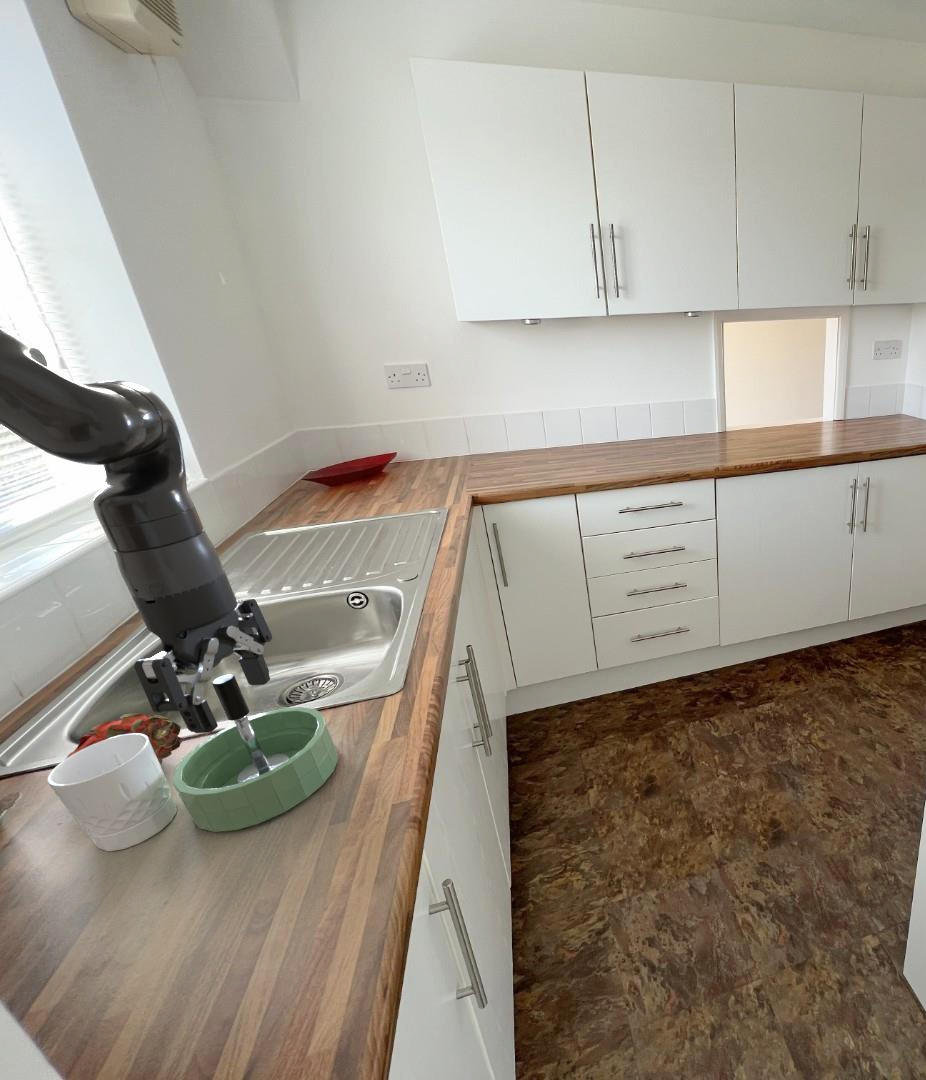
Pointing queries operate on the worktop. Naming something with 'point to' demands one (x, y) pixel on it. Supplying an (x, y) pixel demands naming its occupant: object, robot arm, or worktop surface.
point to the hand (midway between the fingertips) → (234, 705)
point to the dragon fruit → (153, 727)
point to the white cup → (115, 791)
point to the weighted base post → (244, 728)
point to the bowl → (233, 805)
